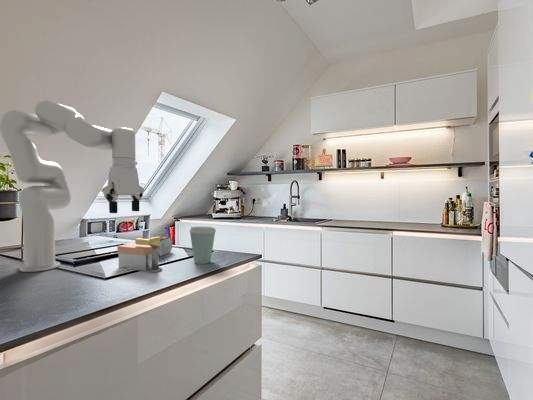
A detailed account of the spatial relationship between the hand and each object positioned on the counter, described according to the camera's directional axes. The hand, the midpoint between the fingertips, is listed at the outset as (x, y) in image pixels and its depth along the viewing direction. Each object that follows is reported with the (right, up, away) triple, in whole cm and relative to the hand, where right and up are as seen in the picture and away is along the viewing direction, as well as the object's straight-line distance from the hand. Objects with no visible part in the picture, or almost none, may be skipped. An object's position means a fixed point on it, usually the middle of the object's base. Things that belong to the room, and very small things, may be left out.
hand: (124, 212), depth 109 cm
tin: (+3, -21, +32) cm, 38 cm away
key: (+6, -13, +6) cm, 15 cm away
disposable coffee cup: (+24, -22, +18) cm, 37 cm away
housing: (+3, -22, +8) cm, 23 cm away
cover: (+1, -16, +8) cm, 18 cm away
